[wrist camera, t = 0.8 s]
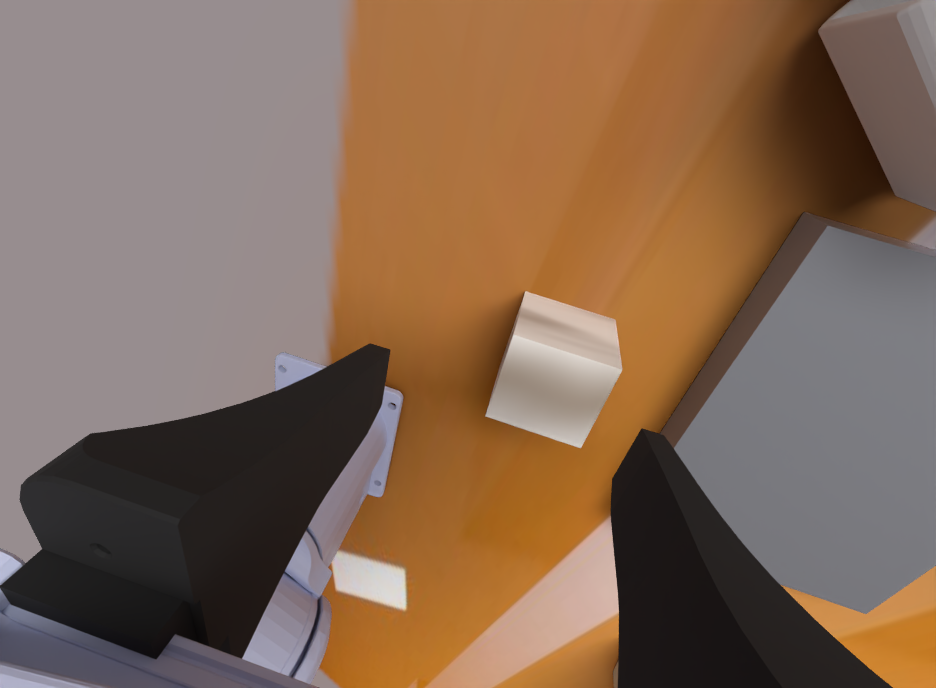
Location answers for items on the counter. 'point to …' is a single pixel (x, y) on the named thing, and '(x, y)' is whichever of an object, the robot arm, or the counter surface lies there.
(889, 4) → the cable organizer
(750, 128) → the counter surface
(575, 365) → the ash cube
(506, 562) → the counter surface
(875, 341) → the base plate
